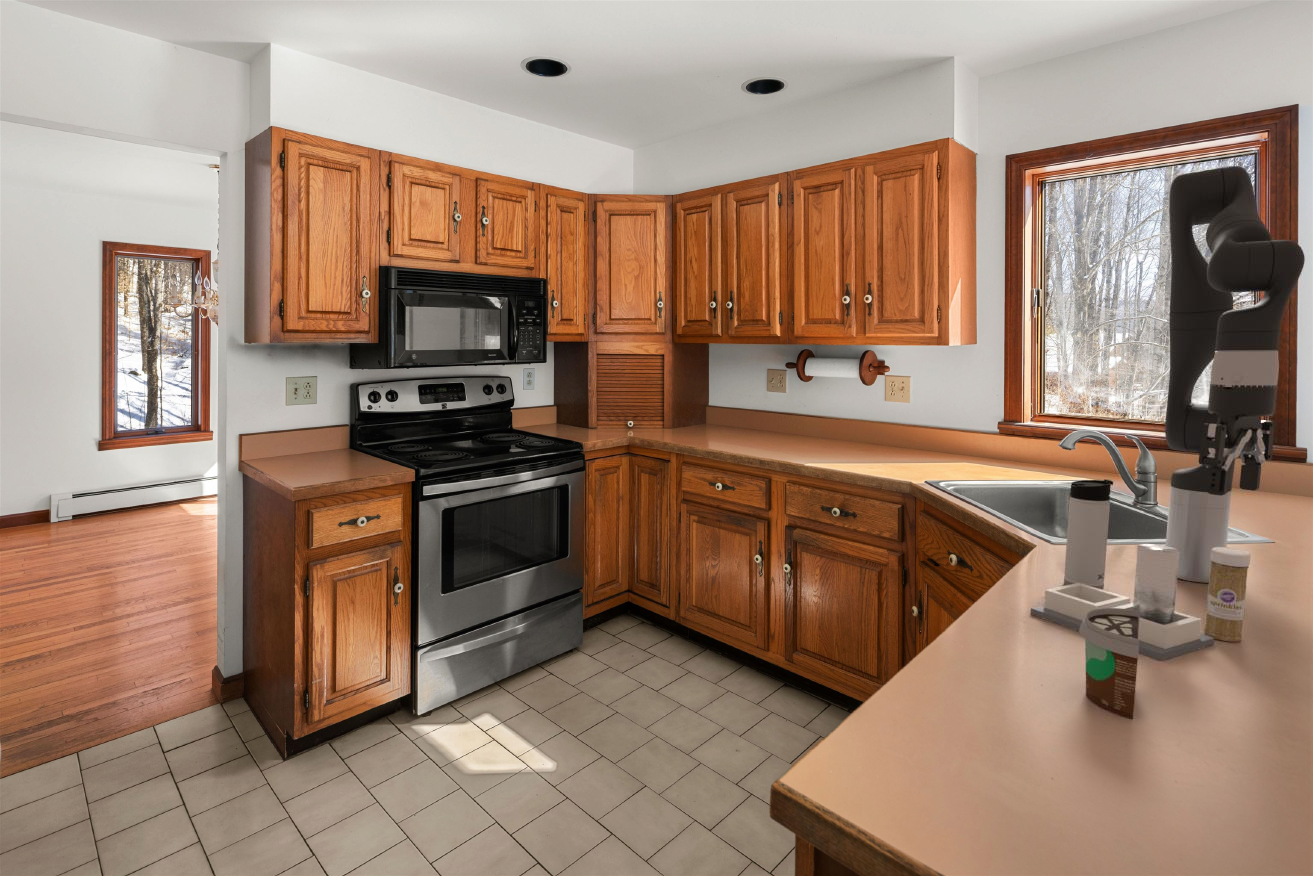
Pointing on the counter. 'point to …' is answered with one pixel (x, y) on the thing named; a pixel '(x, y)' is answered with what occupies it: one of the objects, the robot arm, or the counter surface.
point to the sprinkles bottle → (1226, 593)
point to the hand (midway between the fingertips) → (1232, 492)
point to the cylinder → (1156, 582)
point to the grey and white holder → (1153, 637)
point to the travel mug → (1087, 532)
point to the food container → (1111, 658)
